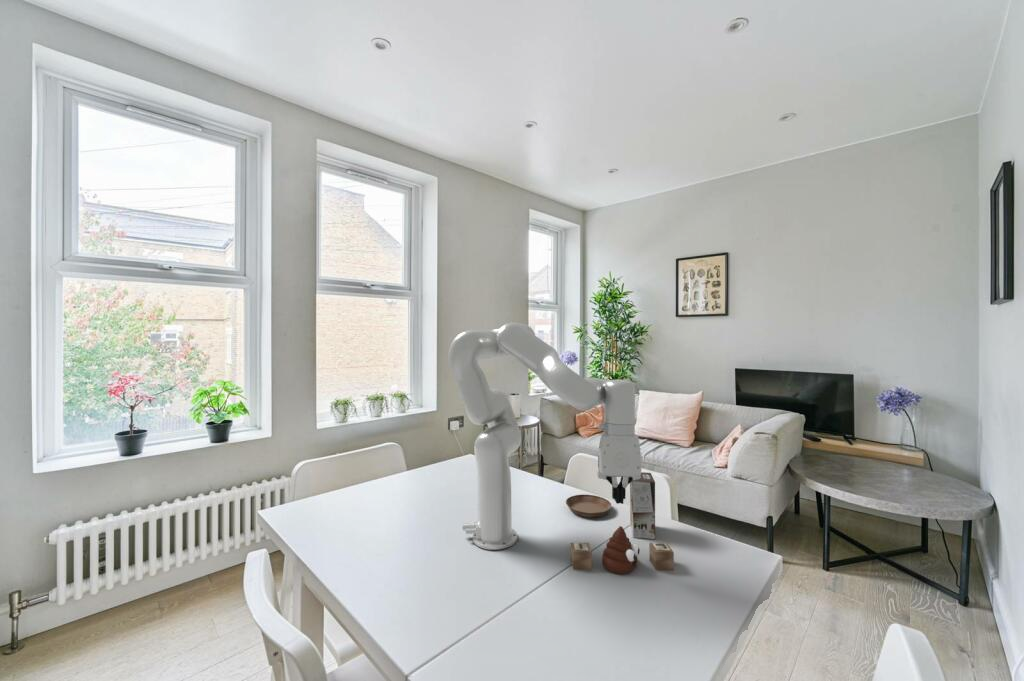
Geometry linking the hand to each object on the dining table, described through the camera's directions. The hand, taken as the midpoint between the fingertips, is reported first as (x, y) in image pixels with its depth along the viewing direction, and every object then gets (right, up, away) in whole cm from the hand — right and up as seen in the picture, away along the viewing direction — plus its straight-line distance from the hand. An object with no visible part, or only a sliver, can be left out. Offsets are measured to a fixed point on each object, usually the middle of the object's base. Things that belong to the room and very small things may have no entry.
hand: (618, 501), depth 104 cm
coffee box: (+11, -16, +17) cm, 26 cm away
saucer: (-2, -16, +32) cm, 36 cm away
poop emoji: (0, -16, -1) cm, 16 cm away
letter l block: (+10, -16, -1) cm, 19 cm away
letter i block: (-10, -16, -1) cm, 18 cm away
